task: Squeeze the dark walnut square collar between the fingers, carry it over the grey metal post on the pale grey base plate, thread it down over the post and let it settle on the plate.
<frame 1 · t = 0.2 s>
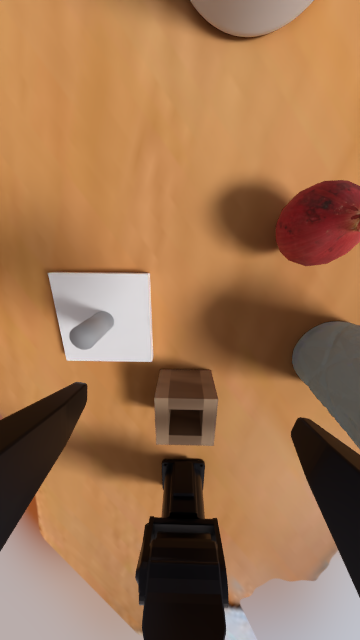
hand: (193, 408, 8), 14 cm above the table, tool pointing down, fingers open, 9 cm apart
grey-blue tapered cup: (326, 351, 22), on the table
onion: (289, 232, 18), on the table
collar: (185, 390, 24), on the table
post base: (108, 317, 21), on the table
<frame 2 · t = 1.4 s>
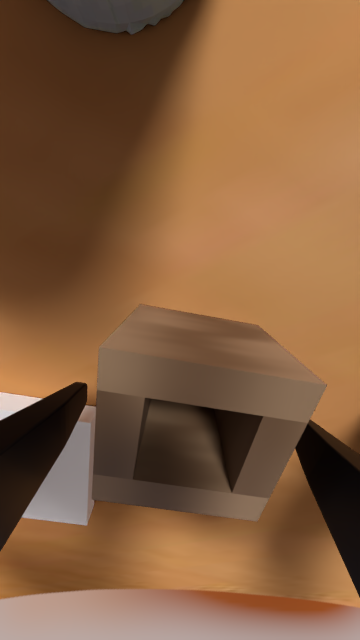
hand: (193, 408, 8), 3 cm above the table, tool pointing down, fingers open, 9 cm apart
collar: (188, 366, 11), on the table
post base: (26, 451, 13), on the table
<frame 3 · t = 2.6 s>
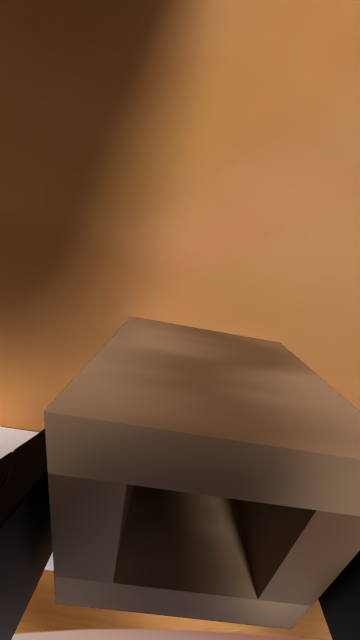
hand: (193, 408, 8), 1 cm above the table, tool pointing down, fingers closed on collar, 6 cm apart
collar: (191, 392, 9), on the table, touching gripper
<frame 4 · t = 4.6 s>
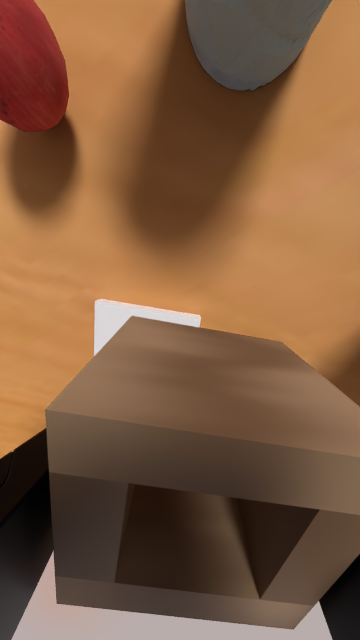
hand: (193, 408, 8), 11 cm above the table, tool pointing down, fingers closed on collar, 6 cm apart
grey-blue tapered cup: (246, 9, 12), on the table
onion: (54, 111, 14), on the table
collar: (192, 391, 9), point 10 cm above the table, touching gripper
post base: (145, 351, 20), on the table
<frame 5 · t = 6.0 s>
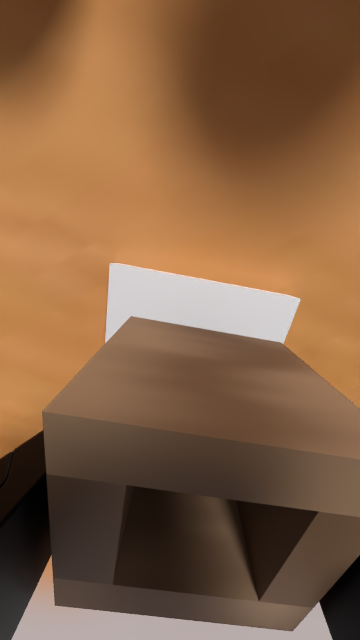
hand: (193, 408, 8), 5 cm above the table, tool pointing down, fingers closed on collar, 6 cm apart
collar: (192, 392, 9), point 4 cm above the table, touching gripper
post base: (188, 355, 12), on the table
when the fingers open (4 cm above the table, at t = 7.0 s): collar drops 1 cm, resting on post base.
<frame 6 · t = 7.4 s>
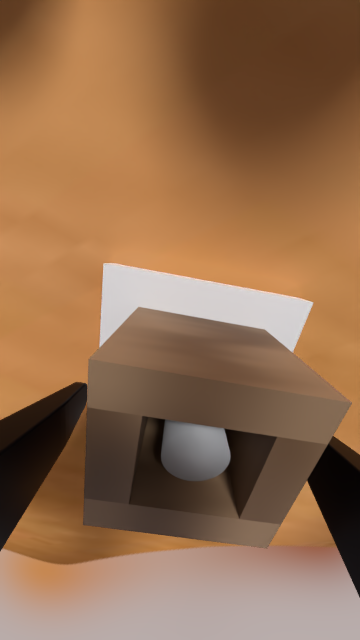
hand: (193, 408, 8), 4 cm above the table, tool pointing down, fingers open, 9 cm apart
collar: (189, 373, 10), point 1 cm above the table, touching post base
post base: (189, 362, 11), on the table
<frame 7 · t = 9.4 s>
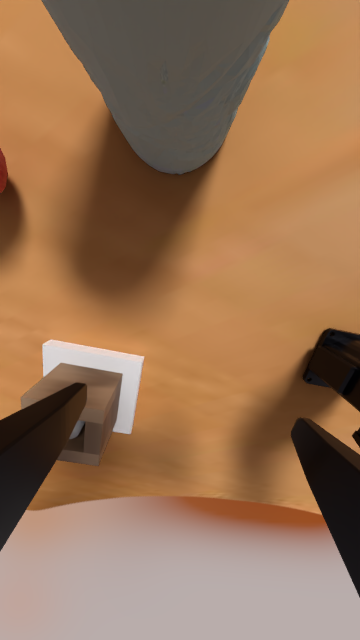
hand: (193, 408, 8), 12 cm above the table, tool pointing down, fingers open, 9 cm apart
grey-blue tapered cup: (172, 109, 14), on the table
onion: (0, 176, 15), on the table
collar: (90, 392, 20), point 1 cm above the table, touching post base
post base: (95, 386, 21), on the table
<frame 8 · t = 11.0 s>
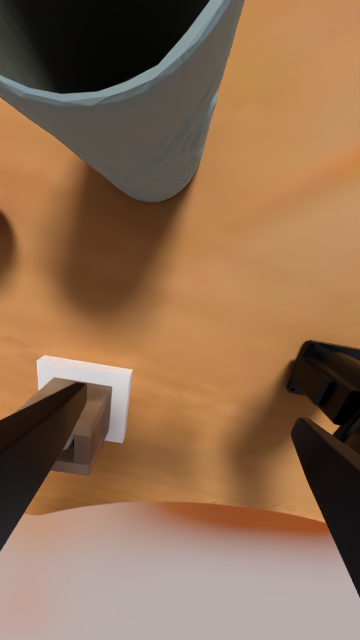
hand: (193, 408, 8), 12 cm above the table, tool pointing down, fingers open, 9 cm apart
grey-blue tapered cup: (147, 143, 15), on the table
collar: (82, 404, 21), point 1 cm above the table, touching post base
post base: (88, 398, 22), on the table
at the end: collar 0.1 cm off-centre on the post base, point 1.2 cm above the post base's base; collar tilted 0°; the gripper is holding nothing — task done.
